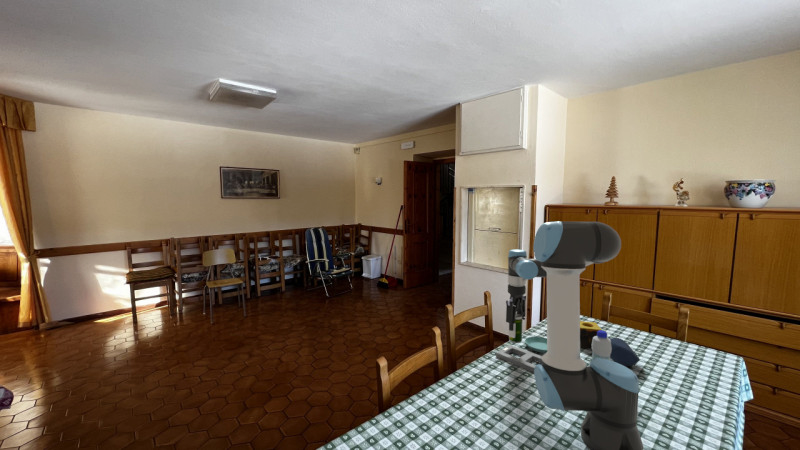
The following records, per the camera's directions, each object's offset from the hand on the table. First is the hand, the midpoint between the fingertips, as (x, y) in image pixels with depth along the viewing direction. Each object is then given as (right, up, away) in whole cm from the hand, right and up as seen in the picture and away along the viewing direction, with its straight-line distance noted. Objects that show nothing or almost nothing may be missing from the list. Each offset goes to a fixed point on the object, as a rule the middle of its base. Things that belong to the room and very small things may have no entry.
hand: (515, 334), depth 142 cm
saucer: (+16, -10, +10) cm, 21 cm away
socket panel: (+3, -11, -3) cm, 11 cm away
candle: (+40, -10, +13) cm, 43 cm away
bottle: (+27, -12, -18) cm, 34 cm away
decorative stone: (+44, -11, -6) cm, 46 cm away
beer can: (0, -3, 0) cm, 3 cm away
